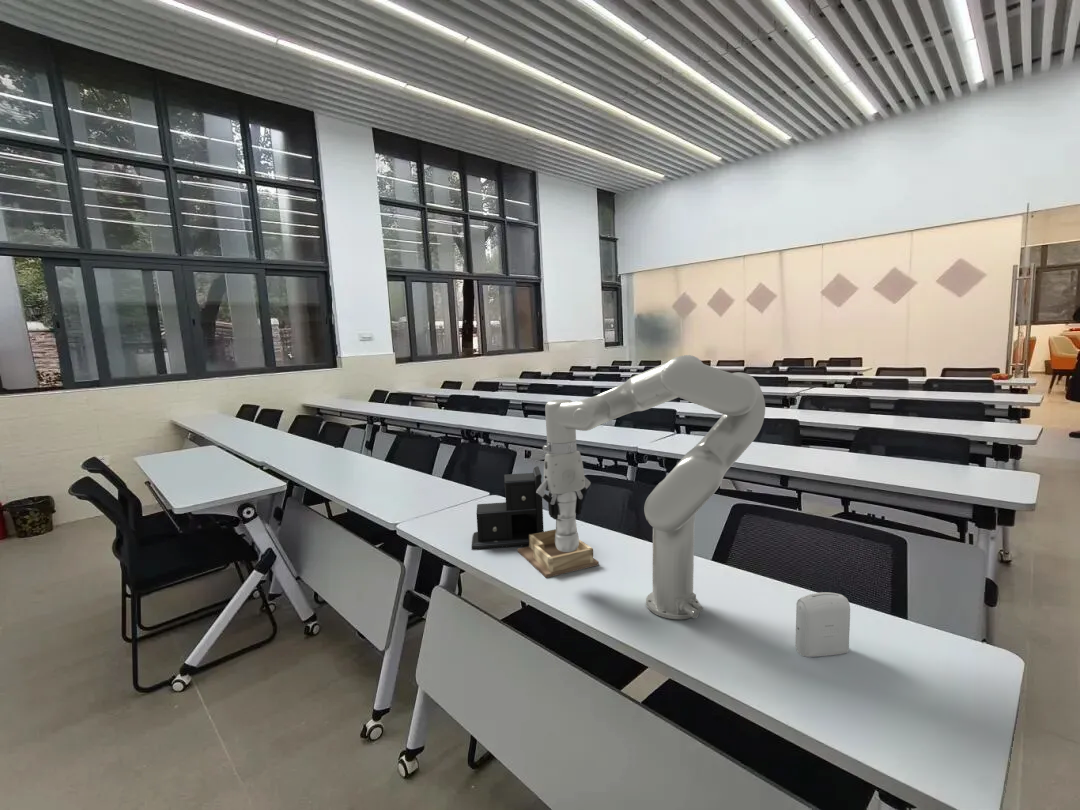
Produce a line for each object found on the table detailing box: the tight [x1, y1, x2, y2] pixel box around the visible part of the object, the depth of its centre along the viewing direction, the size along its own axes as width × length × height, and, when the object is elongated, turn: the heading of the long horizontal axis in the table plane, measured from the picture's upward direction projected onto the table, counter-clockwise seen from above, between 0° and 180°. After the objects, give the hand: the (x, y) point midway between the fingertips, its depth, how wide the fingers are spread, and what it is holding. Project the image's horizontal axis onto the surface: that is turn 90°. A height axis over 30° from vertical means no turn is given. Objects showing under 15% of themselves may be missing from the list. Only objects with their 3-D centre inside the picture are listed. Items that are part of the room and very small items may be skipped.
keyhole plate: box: [517, 528, 600, 579], centre depth 151 cm, size 20×17×5 cm
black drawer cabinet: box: [471, 465, 545, 550], centre depth 164 cm, size 23×11×24 cm, turn 95°
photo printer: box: [794, 591, 851, 658], centre depth 102 cm, size 10×4×12 cm, turn 96°
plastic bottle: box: [555, 491, 580, 552], centre depth 132 cm, size 6×7×20 cm
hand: (565, 514), depth 132 cm, fingers closed on plastic bottle, 6 cm apart
